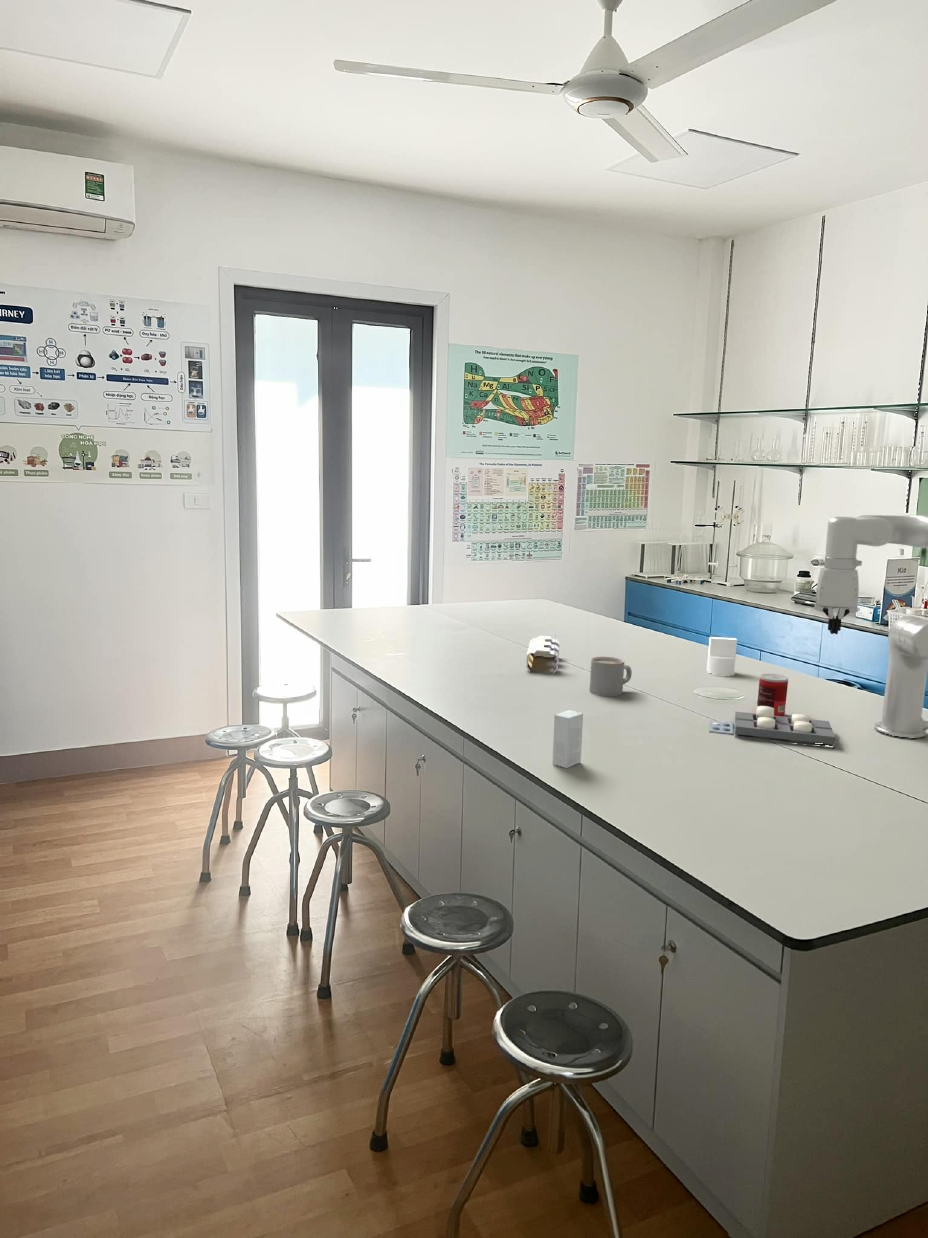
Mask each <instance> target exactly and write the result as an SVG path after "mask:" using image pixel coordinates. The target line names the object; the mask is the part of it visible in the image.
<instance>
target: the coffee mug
mask: <svg viewBox="0 0 928 1238" xmlns="http://www.w3.org/2000/svg"><path fill="white" fill-rule="evenodd" d="M625 672H626V674H625ZM632 673H633V672H632V668H631V666H630V665H628V664H627V663H625V660H624V659H622V658H618V657H615V656H614V657H613V656H595V657H591V661H590V677H589V678H590V679H589V693H591V694H593V693H594V694H593V695H596V694H598V695H597V696H600V695H602V697H618V695H619V696H621V695H622V694H623V690H624V689H623V688H624V687H623V686H624V685H625V684H627V683H629V681H630V680H631V678H632V676H633V674H632ZM624 674H625V677H624Z"/></svg>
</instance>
